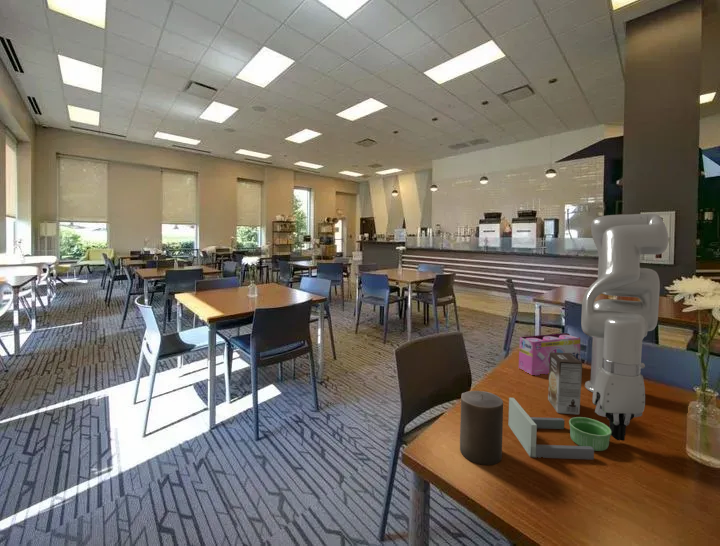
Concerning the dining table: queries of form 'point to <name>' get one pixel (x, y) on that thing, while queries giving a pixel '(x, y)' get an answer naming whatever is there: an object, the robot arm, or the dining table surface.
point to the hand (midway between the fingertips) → (616, 437)
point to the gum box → (545, 351)
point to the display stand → (526, 435)
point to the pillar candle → (481, 427)
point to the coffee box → (565, 383)
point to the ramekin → (590, 433)
